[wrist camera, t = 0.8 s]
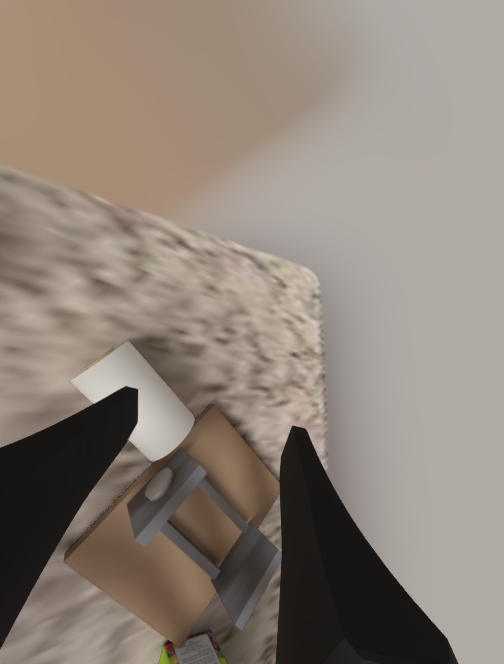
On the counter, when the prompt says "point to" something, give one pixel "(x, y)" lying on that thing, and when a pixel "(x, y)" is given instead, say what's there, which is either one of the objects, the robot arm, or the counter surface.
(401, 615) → the robot arm
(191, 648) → the snack box
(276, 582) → the counter surface
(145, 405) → the roll
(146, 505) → the holder
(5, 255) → the counter surface
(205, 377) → the counter surface
